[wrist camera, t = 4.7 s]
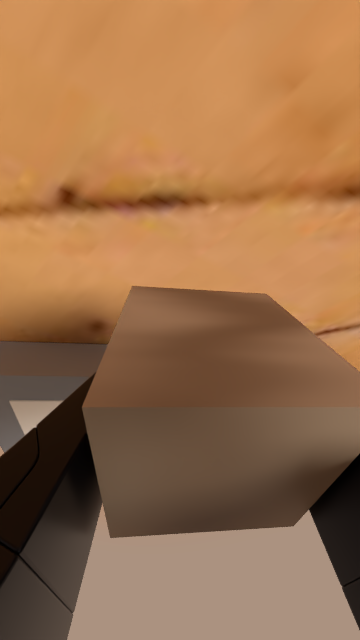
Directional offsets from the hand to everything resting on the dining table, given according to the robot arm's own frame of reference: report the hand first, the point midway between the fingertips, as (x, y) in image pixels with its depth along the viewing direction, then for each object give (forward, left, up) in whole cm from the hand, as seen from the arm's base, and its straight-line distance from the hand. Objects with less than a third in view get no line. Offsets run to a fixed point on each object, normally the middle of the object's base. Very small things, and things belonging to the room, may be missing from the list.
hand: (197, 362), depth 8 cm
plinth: (+9, +12, -9) cm, 18 cm away
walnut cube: (0, 0, -1) cm, 1 cm away
